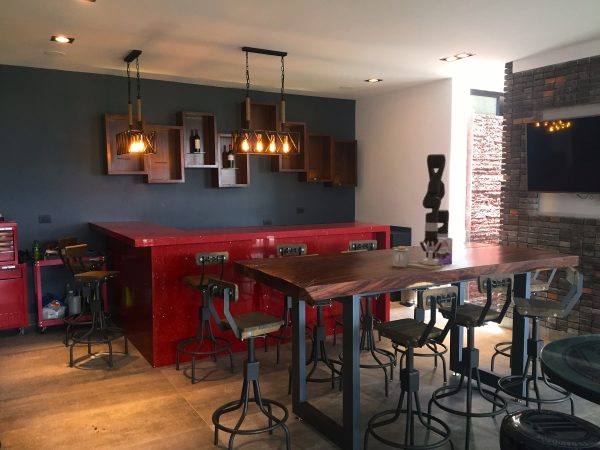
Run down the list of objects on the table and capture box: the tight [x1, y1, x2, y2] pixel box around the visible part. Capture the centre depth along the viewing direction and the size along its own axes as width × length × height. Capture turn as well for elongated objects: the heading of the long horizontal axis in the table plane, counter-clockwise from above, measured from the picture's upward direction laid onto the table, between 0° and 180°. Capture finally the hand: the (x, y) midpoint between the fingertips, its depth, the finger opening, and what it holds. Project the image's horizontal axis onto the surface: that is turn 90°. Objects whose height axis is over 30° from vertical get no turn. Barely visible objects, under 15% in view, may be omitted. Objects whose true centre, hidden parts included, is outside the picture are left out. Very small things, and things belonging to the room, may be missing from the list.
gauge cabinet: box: [392, 248, 411, 268], centre depth 313 cm, size 10×8×10 cm
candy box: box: [429, 237, 453, 265], centre depth 321 cm, size 14×6×16 cm, turn 101°
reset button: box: [396, 245, 407, 250], centre depth 313 cm, size 4×4×4 cm
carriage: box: [422, 251, 439, 265], centre depth 306 cm, size 8×8×8 cm
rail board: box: [405, 260, 444, 270], centre depth 308 cm, size 10×20×3 cm, turn 63°
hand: (430, 258), depth 306 cm, fingers closed on carriage, 2 cm apart
